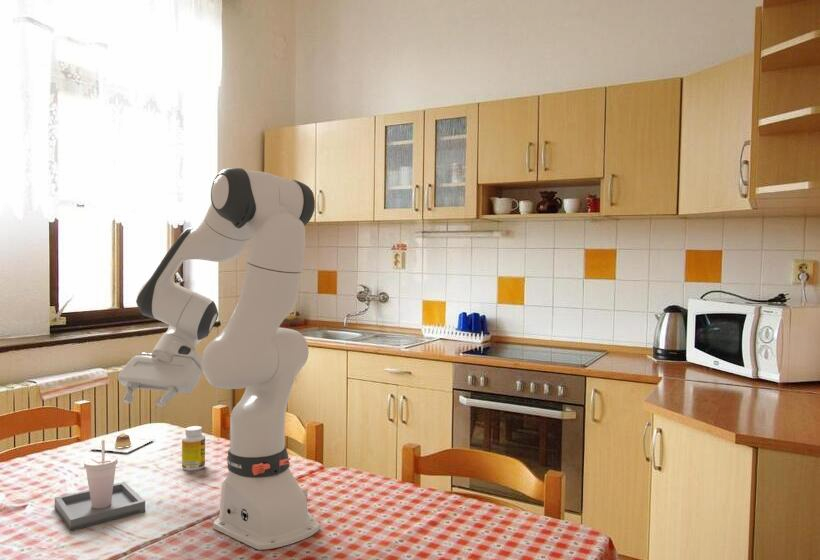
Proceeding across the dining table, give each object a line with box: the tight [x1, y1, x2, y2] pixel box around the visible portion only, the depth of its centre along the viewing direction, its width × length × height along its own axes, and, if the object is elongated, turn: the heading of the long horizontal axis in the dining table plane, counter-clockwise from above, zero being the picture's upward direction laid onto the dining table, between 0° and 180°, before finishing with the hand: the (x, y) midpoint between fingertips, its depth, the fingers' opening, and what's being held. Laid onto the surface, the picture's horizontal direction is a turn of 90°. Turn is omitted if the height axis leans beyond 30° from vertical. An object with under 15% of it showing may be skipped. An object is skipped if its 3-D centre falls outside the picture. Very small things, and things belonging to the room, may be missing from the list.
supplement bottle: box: [181, 425, 206, 472], centre depth 151 cm, size 6×6×10 cm
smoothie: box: [83, 439, 119, 509], centre depth 126 cm, size 6×6×14 cm
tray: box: [54, 481, 146, 532], centre depth 126 cm, size 14×14×2 cm
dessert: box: [89, 431, 155, 454], centre depth 168 cm, size 12×12×5 cm
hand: (142, 403), depth 137 cm, fingers open, 8 cm apart
